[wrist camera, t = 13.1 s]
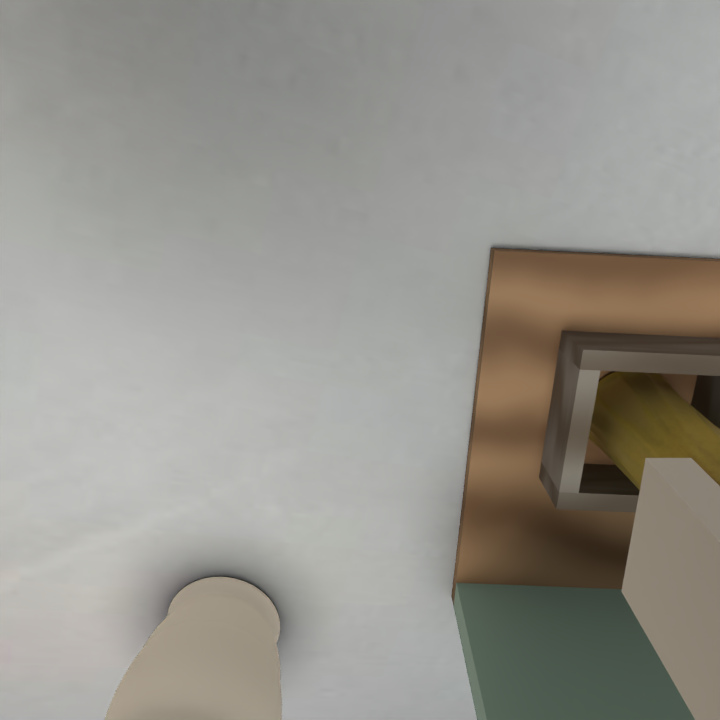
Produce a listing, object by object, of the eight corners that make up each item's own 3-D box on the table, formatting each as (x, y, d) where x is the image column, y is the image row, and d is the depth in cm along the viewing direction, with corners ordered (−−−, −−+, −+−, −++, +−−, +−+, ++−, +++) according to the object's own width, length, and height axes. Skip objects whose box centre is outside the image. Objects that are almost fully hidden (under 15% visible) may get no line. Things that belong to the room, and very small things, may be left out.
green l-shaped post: (466, 497, 43) (552, 779, 24) (781, 510, 44) (1118, 799, 24) (453, 605, 46) (522, 935, 27) (749, 617, 47) (1029, 951, 27)
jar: (319, 601, 47) (302, 795, 33) (254, 693, 50) (213, 908, 36) (192, 539, 46) (116, 715, 31) (132, 638, 48) (38, 841, 34)
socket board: (491, 247, 39) (509, 261, 34) (841, 264, 39) (907, 280, 35) (451, 596, 47) (461, 646, 42) (742, 607, 48) (784, 658, 43)
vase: (691, 415, 42) (855, 544, 28) (612, 468, 43) (733, 617, 29) (643, 347, 40) (791, 449, 26) (562, 405, 41) (665, 530, 28)
